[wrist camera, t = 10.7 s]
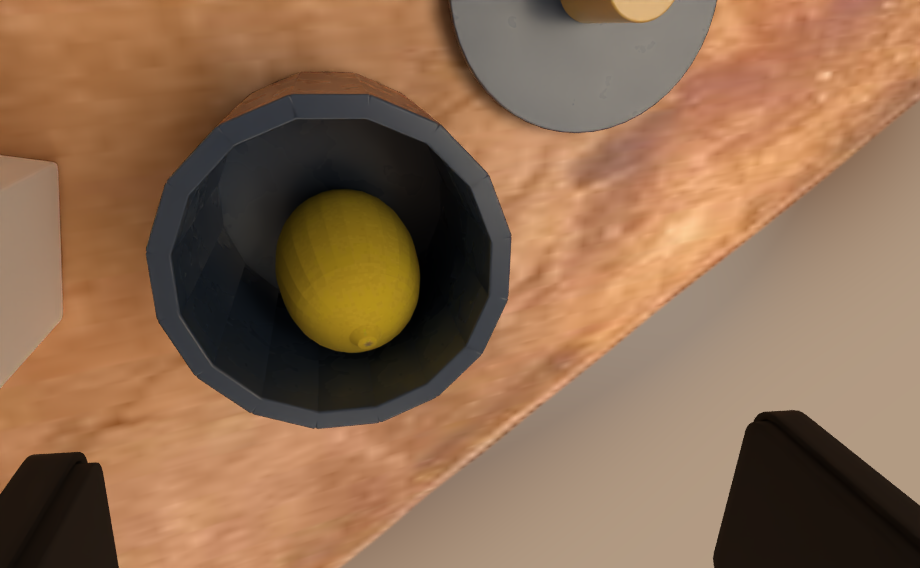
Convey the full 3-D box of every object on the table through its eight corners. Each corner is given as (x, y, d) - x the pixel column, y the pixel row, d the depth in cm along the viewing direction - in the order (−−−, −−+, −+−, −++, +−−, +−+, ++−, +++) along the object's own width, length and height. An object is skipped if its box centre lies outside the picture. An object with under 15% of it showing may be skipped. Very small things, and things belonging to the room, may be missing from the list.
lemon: (282, 262, 29) (305, 406, 24) (252, 164, 25) (272, 311, 20) (398, 238, 30) (445, 370, 25) (388, 140, 26) (440, 273, 21)
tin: (188, 70, 26) (117, 93, 17) (454, 72, 28) (519, 94, 19) (220, 317, 30) (177, 443, 21) (451, 302, 32) (503, 411, 23)
